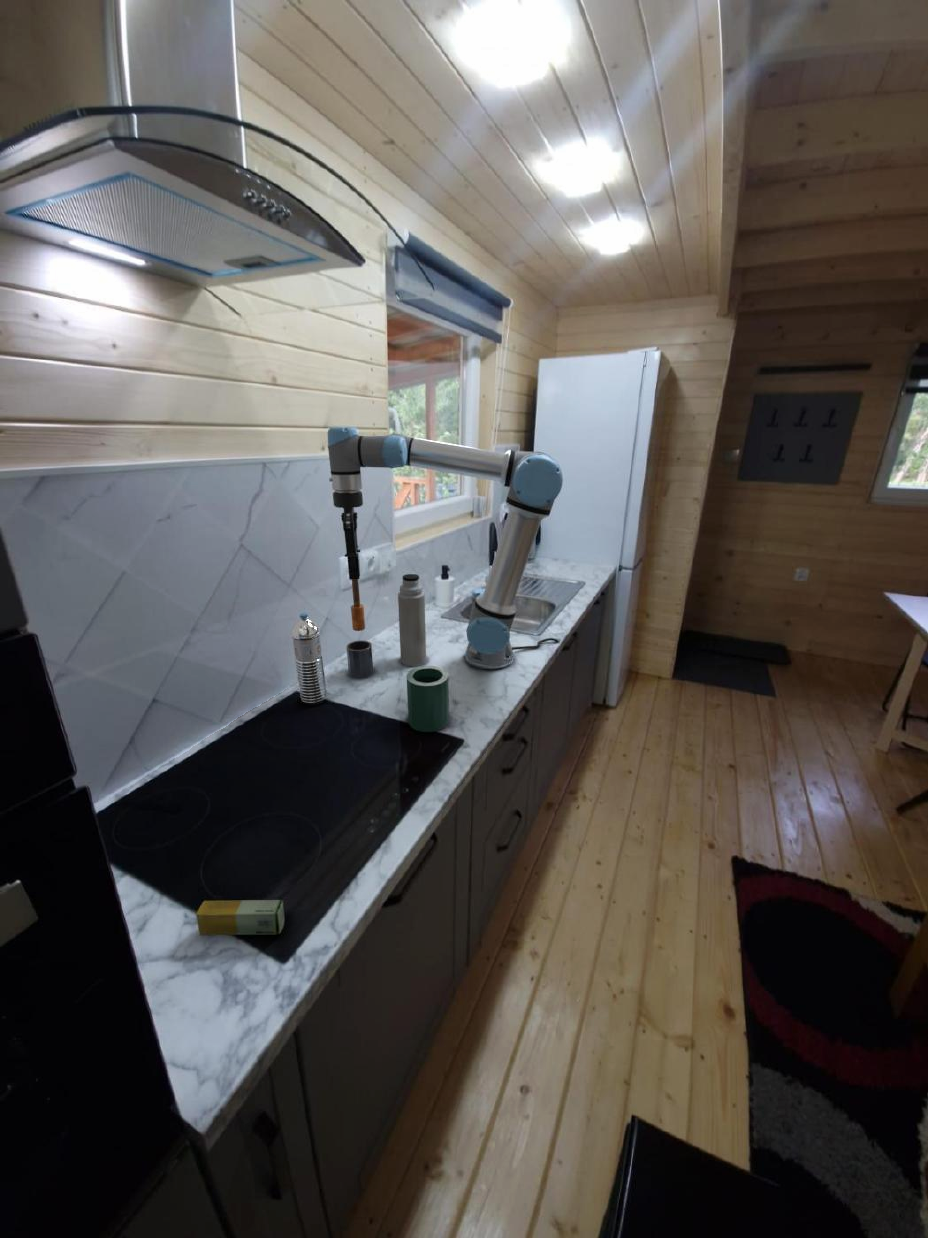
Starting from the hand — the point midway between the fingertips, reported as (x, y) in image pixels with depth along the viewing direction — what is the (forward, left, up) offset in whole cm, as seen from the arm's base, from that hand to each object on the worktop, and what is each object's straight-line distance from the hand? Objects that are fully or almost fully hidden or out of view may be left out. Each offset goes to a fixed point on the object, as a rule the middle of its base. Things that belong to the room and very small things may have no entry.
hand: (354, 577), depth 137 cm
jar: (-18, +28, -30) cm, 45 cm away
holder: (0, 0, -30) cm, 30 cm away
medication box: (+14, +79, -30) cm, 86 cm away
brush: (0, 0, -15) cm, 15 cm away
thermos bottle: (-16, -6, -30) cm, 35 cm away
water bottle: (+12, +14, -30) cm, 35 cm away
